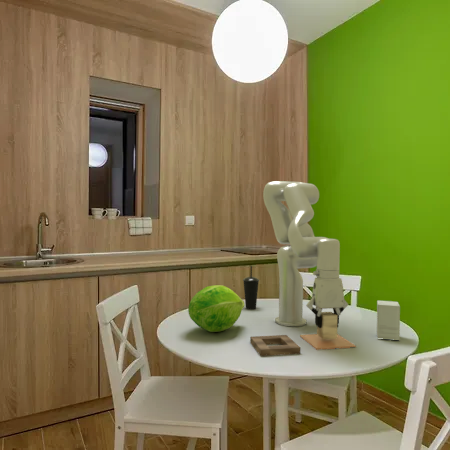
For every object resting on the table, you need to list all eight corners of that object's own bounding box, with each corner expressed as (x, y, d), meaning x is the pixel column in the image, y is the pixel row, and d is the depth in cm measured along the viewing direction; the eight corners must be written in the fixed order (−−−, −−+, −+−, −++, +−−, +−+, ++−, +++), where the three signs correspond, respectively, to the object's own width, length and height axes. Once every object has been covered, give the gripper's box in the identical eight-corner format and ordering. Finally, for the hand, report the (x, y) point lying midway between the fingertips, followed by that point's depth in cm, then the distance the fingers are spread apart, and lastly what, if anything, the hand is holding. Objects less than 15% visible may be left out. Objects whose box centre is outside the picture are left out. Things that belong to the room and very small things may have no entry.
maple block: (317, 334, 136) (317, 312, 136) (330, 334, 137) (330, 311, 137) (323, 339, 131) (323, 315, 131) (337, 338, 132) (337, 315, 132)
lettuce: (259, 330, 146) (260, 285, 146) (204, 343, 131) (205, 293, 131) (229, 319, 161) (229, 279, 161) (176, 330, 146) (177, 285, 145)
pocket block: (250, 342, 133) (250, 336, 132) (286, 340, 135) (286, 334, 135) (260, 356, 120) (260, 349, 120) (300, 353, 122) (300, 347, 122)
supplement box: (397, 335, 142) (398, 301, 141) (399, 341, 135) (400, 305, 134) (376, 333, 144) (376, 299, 144) (376, 339, 137) (377, 304, 137)
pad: (300, 336, 140) (300, 334, 140) (336, 334, 142) (336, 333, 142) (316, 349, 126) (316, 348, 126) (355, 347, 128) (355, 345, 128)
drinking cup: (240, 306, 184) (240, 265, 184) (255, 305, 186) (255, 264, 186) (245, 310, 177) (246, 267, 176) (261, 309, 179) (261, 266, 179)
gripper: (308, 276, 128) (308, 330, 129) (356, 275, 131) (355, 328, 132) (300, 273, 136) (299, 324, 136) (345, 272, 139) (344, 322, 139)
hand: (327, 325), depth 134 cm, fingers open, 5 cm apart
